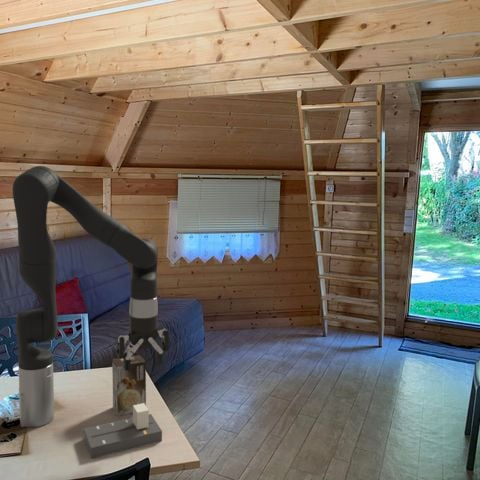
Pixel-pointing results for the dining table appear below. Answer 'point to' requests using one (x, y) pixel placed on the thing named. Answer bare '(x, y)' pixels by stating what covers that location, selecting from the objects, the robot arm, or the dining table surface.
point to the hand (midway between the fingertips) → (143, 368)
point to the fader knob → (140, 416)
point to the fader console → (120, 436)
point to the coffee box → (128, 384)
